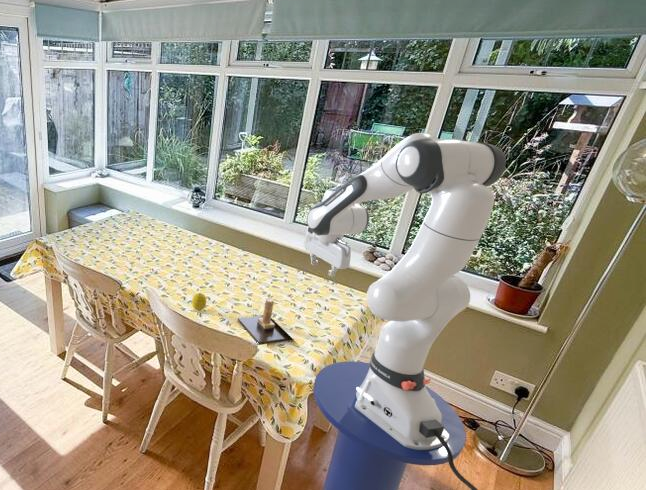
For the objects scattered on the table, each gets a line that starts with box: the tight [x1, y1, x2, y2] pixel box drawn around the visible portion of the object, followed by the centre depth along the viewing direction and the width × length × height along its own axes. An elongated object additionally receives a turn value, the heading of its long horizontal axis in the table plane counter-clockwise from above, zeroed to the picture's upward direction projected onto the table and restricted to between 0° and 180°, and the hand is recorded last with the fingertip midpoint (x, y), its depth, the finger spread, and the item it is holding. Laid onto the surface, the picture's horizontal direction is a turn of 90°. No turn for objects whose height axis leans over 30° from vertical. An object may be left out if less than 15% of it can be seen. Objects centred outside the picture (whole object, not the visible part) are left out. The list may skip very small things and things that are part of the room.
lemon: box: [191, 292, 207, 311], centre depth 162 cm, size 6×6×8 cm
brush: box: [257, 297, 275, 332], centre depth 150 cm, size 5×4×12 cm
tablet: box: [237, 314, 295, 346], centre depth 153 cm, size 16×20×1 cm
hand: (322, 270), depth 147 cm, fingers open, 8 cm apart
